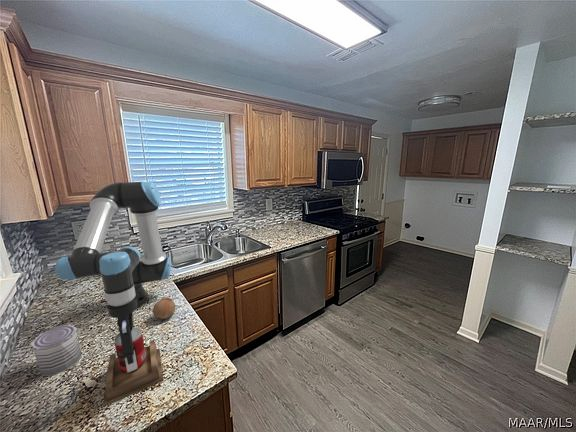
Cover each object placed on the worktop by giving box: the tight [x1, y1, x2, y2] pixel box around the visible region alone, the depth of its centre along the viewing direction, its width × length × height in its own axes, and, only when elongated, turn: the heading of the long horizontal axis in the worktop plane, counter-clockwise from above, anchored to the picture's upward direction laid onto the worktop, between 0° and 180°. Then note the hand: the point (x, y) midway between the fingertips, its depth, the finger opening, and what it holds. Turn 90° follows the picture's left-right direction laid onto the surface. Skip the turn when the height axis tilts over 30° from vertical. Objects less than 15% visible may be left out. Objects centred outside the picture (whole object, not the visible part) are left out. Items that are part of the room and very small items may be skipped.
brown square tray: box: [102, 339, 164, 408], centre depth 79 cm, size 16×16×6 cm
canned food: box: [113, 326, 146, 372], centre depth 78 cm, size 8×8×11 cm
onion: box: [152, 296, 176, 321], centre depth 110 cm, size 10×9×10 cm
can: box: [30, 323, 83, 377], centre depth 84 cm, size 11×11×12 cm
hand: (132, 360), depth 79 cm, fingers open, 8 cm apart
